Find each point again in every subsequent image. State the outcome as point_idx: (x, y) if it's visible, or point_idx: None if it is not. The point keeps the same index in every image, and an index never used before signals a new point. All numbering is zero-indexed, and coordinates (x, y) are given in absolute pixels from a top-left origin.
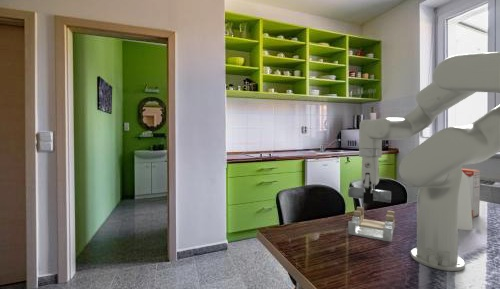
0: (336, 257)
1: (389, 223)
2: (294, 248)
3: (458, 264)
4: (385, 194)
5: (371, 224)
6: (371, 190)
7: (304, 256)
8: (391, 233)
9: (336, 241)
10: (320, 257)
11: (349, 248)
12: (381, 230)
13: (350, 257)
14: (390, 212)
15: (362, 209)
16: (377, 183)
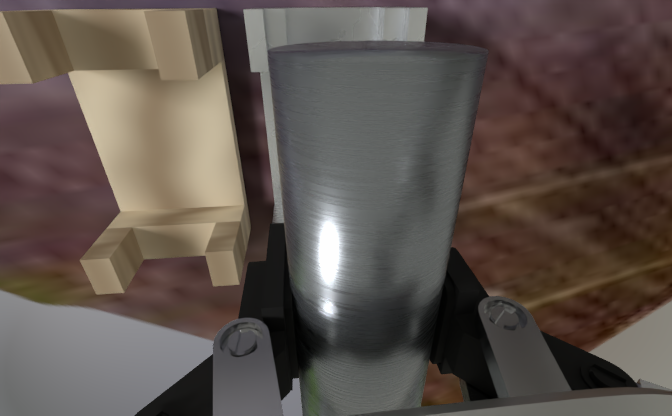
0: (647, 194)
1: (266, 36)
2: (594, 310)
3: None
4: (468, 139)
5: (196, 154)
6: (539, 339)
7: (650, 271)
8: (397, 7)
9: (494, 234)
10: (652, 234)
11: (554, 176)
12: (266, 83)
13: (642, 153)
14: (24, 51)
15: (115, 255)
16: (530, 412)
